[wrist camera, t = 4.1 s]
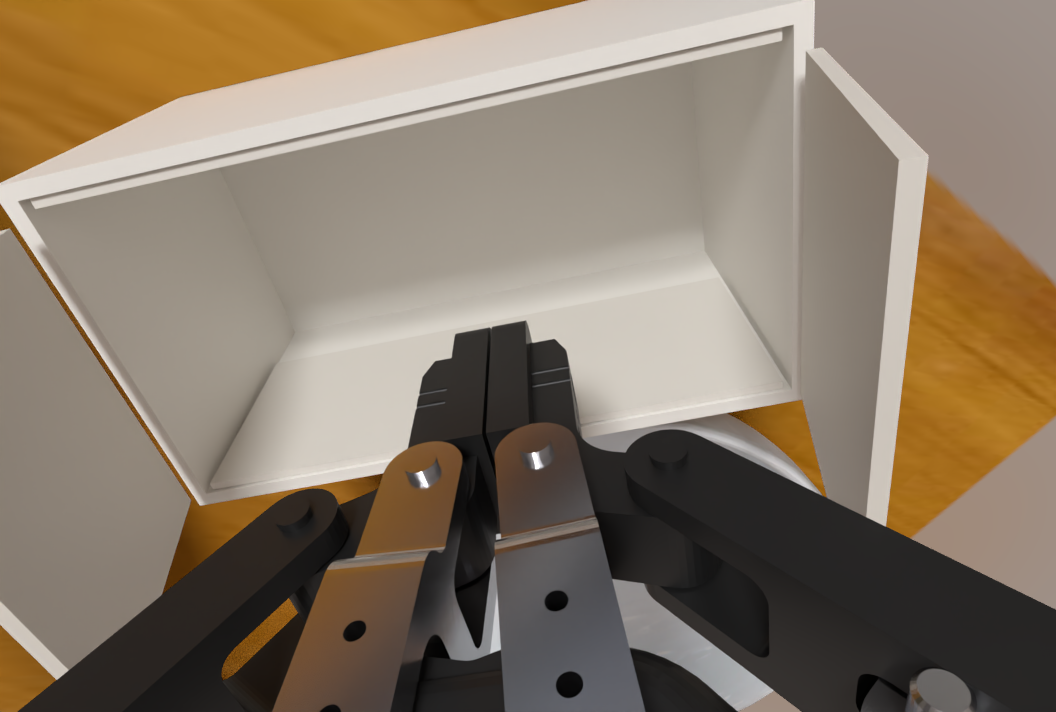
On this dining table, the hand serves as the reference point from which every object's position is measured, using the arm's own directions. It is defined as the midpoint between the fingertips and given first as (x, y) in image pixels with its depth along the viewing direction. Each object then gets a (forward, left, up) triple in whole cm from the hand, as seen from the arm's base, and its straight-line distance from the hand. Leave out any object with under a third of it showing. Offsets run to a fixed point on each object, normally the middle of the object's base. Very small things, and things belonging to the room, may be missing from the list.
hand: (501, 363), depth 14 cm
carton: (0, -2, -13) cm, 13 cm away
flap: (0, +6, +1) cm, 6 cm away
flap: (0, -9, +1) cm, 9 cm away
